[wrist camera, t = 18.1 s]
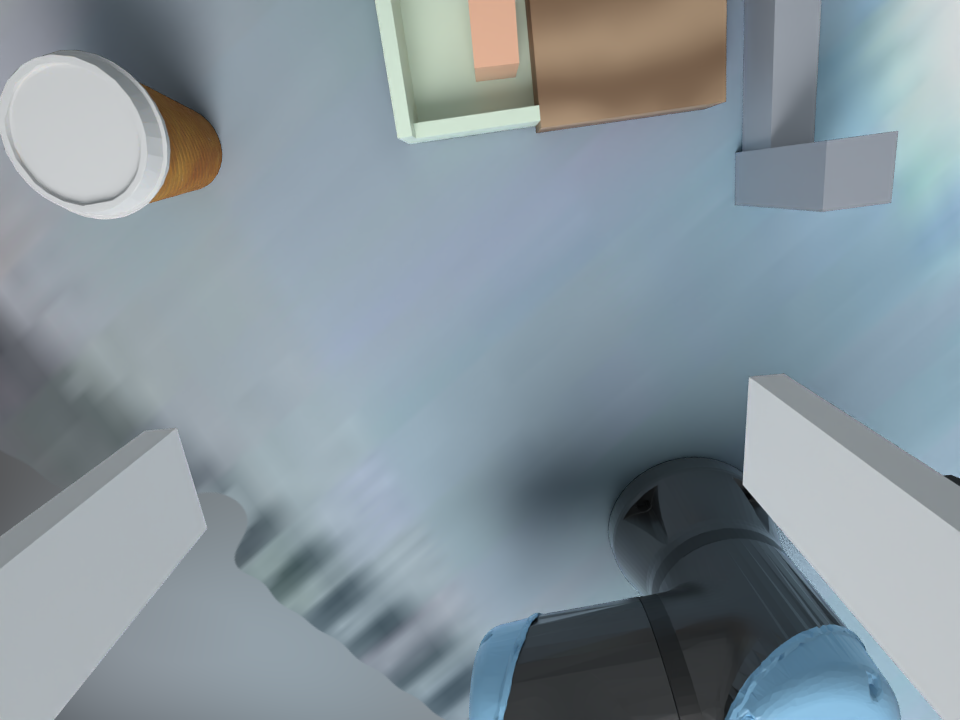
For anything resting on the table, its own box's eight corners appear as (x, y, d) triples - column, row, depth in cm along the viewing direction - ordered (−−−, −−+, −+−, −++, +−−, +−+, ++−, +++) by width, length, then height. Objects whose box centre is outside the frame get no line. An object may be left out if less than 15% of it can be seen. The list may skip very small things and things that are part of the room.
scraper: (785, 198, 44) (891, 202, 32) (735, 204, 44) (822, 211, 32) (799, -171, 36) (943, -333, 25) (739, -161, 37) (854, -318, 25)
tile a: (519, 62, 36) (474, 68, 36) (515, 77, 41) (475, 81, 41) (513, -25, 34) (466, -19, 34) (509, 0, 39) (468, 5, 39)
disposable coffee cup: (190, 57, 41) (77, 8, 30) (266, 172, 44) (188, 168, 32) (96, 125, 43) (-46, 104, 31) (175, 233, 45) (69, 249, 34)
